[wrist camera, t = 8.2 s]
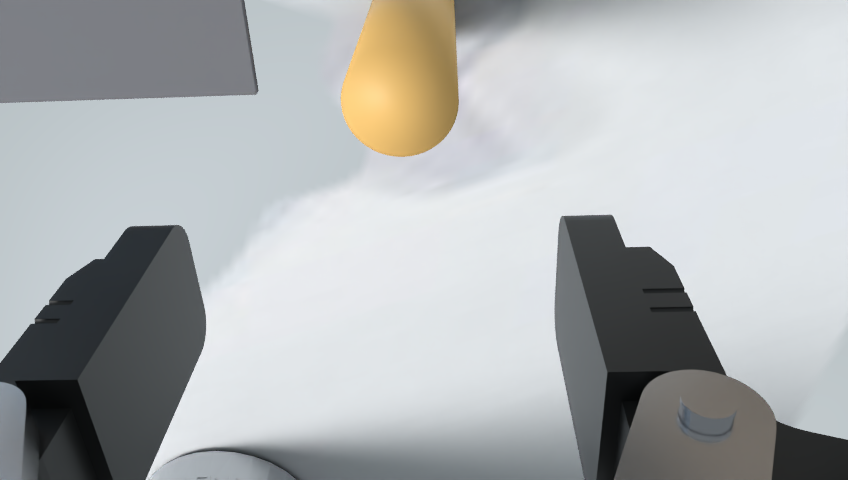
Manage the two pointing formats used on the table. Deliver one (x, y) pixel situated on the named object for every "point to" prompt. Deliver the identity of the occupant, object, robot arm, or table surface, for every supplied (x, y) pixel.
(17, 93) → the mat
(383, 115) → the dowel
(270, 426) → the table surface
